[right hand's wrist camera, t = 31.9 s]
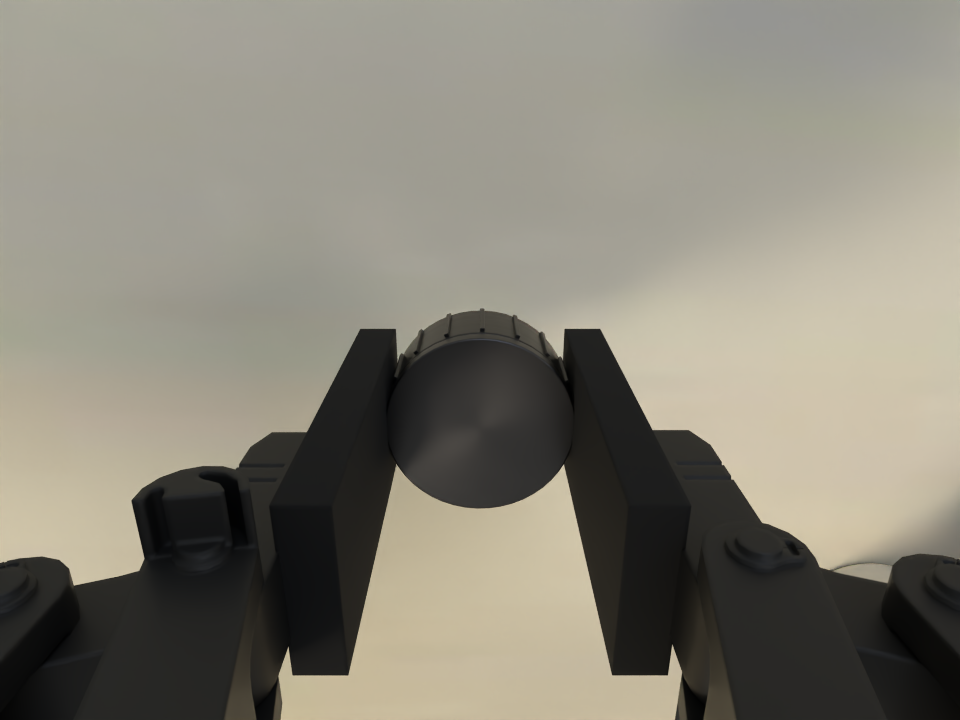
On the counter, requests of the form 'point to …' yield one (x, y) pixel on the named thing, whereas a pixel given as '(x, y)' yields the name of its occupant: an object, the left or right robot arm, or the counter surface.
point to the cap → (480, 410)
